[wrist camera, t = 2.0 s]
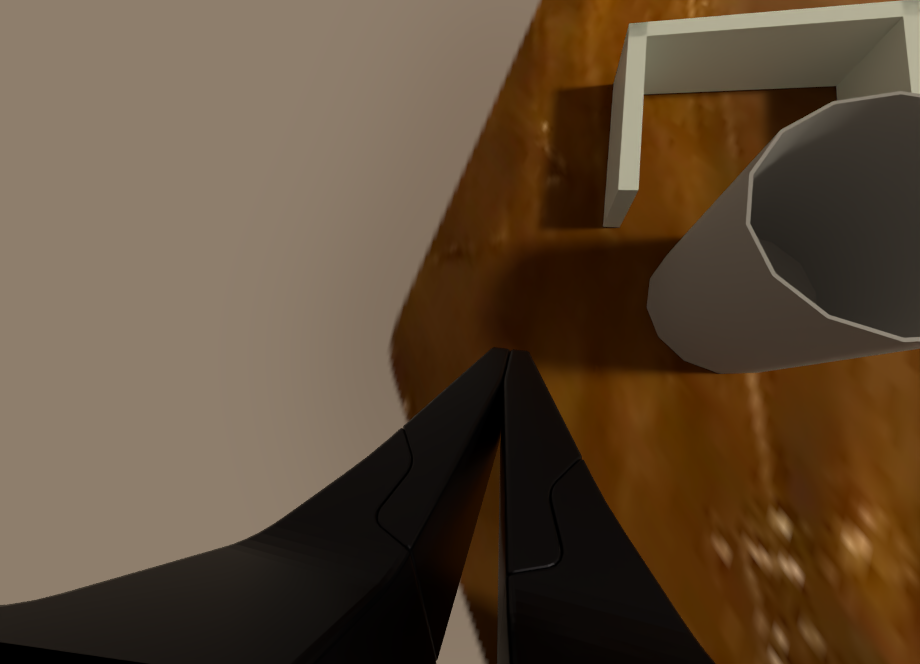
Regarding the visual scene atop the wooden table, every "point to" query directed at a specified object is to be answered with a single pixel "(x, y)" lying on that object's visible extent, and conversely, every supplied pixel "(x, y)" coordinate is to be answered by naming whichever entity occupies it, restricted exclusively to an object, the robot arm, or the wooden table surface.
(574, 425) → the wooden table surface
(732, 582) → the wooden table surface
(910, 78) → the u-shaped wall frame
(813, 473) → the wooden table surface
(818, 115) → the cup
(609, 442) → the wooden table surface
